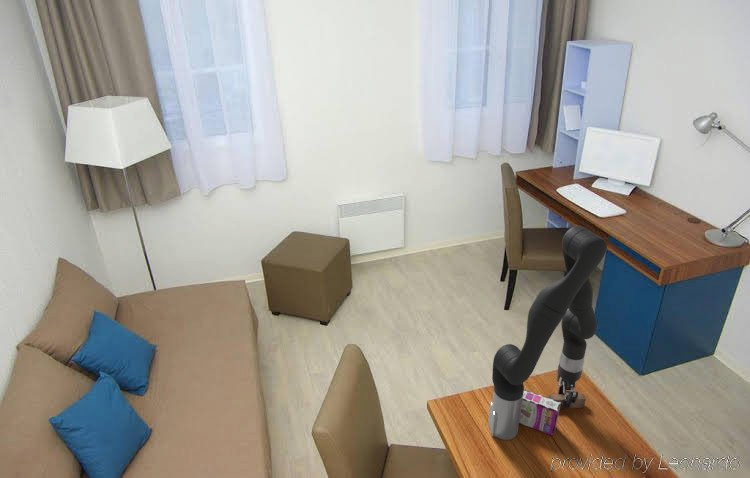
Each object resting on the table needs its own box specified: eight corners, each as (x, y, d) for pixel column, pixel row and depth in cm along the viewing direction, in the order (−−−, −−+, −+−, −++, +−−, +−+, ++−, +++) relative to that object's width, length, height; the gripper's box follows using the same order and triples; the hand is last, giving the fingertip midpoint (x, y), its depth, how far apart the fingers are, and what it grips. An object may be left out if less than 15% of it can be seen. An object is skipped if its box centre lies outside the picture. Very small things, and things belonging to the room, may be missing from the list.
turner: (527, 412, 182) (529, 404, 180) (523, 399, 187) (524, 391, 185) (585, 411, 181) (587, 403, 179) (579, 398, 187) (581, 390, 185)
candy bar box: (561, 401, 171) (512, 384, 178) (558, 411, 167) (507, 393, 174) (556, 426, 176) (508, 408, 183) (553, 436, 172) (504, 418, 179)
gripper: (553, 349, 181) (546, 386, 189) (566, 379, 169) (559, 417, 177) (575, 349, 181) (567, 386, 189) (590, 378, 169) (581, 416, 177)
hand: (563, 401), depth 183 cm, fingers open, 5 cm apart
